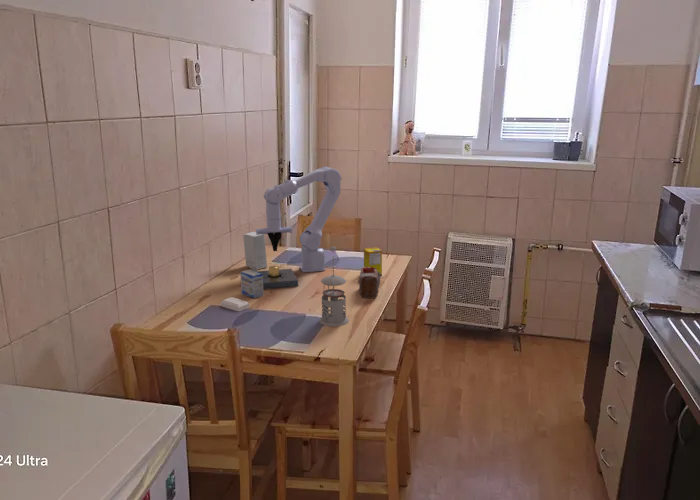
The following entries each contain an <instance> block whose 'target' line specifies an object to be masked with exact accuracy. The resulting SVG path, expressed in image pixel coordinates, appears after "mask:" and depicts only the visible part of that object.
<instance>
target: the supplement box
mask: <svg viewBox="0 0 700 500" xmlns="http://www.w3.org/2000/svg"><path fill="white" fill-rule="evenodd" d="M382 261H383V251H382V250H381V248H379V247H376V246H375V247H366V248H363V268H365V267H372V268H376V269H377V271H378V272H380V277H382V276H383V275H382V274H383V273H382V272H383V265H382V264H383V262H382Z"/></svg>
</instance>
